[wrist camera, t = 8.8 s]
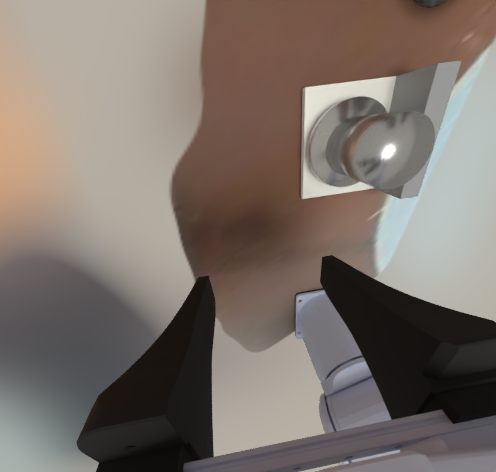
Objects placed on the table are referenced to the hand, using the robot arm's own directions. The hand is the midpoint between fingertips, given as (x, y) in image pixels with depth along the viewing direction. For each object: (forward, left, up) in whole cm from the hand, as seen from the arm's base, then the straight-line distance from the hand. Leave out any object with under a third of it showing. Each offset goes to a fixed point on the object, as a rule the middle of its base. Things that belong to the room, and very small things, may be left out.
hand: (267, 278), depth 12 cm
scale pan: (+6, -9, -8) cm, 14 cm away
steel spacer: (+6, -9, -7) cm, 13 cm away
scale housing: (+6, -10, -9) cm, 15 cm away
